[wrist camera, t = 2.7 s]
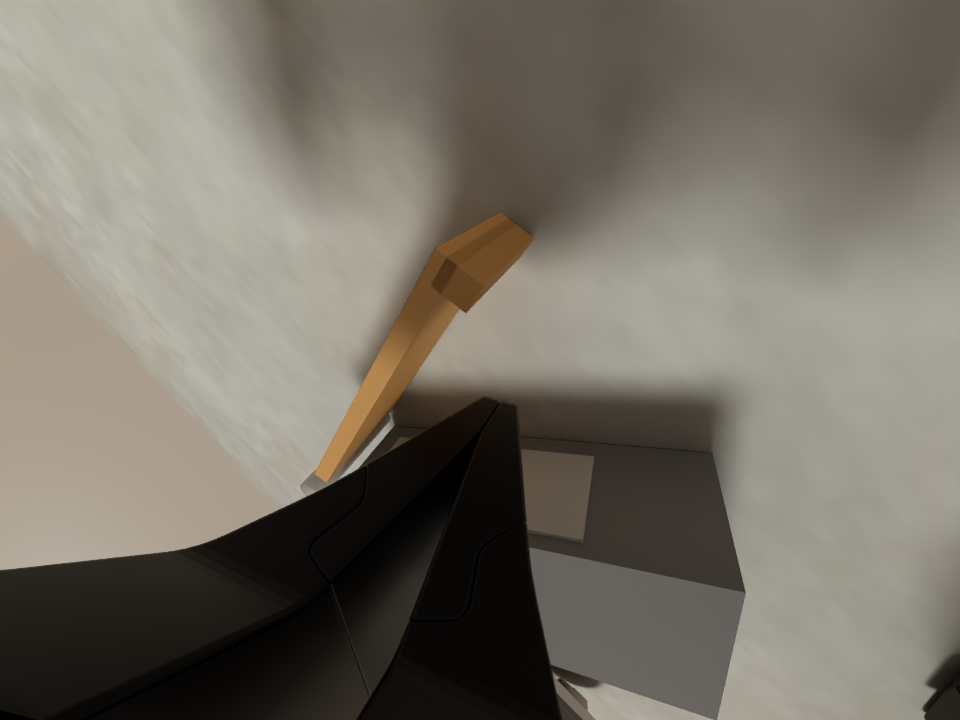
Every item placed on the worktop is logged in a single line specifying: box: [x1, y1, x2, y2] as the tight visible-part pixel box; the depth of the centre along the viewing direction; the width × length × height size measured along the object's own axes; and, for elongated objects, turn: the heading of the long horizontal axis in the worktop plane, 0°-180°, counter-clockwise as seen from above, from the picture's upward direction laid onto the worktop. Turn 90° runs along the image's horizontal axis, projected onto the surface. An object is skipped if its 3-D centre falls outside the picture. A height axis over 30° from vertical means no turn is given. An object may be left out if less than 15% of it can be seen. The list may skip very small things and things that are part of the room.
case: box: [301, 415, 746, 720], centre depth 16 cm, size 15×9×5 cm, turn 102°
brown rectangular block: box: [314, 212, 534, 483], centre depth 13 cm, size 11×1×5 cm, turn 147°
